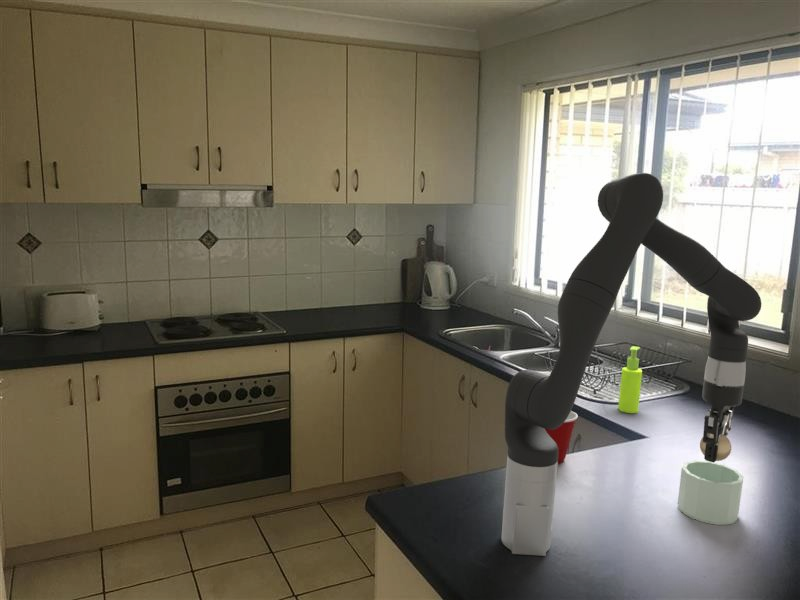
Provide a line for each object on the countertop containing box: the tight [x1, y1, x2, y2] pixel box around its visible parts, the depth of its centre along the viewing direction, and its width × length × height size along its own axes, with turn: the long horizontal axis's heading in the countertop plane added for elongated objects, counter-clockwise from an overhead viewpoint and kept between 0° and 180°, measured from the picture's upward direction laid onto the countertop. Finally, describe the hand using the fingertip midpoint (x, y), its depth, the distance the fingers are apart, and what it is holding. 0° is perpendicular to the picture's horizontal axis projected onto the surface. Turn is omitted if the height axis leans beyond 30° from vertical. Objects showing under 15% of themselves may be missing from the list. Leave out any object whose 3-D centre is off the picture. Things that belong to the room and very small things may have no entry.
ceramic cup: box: [677, 460, 745, 526], centre depth 142 cm, size 12×12×9 cm
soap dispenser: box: [617, 345, 643, 414], centre depth 207 cm, size 6×7×20 cm
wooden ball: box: [699, 434, 732, 462], centre depth 141 cm, size 6×6×6 cm
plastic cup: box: [544, 410, 579, 464], centre depth 167 cm, size 11×11×12 cm
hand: (714, 456), depth 141 cm, fingers closed on wooden ball, 6 cm apart
